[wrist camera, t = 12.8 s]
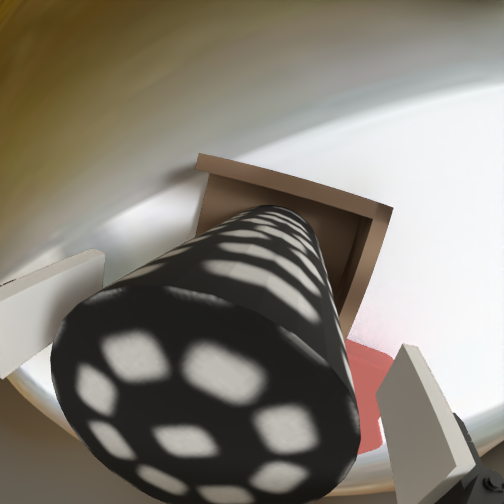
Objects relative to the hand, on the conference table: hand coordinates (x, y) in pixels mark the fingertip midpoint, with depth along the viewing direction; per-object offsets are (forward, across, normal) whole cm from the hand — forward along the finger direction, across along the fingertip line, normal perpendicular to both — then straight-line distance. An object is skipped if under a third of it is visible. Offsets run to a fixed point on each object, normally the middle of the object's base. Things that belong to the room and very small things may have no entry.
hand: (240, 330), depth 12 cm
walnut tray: (+15, 0, -1) cm, 15 cm away
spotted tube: (+14, 0, -1) cm, 14 cm away
